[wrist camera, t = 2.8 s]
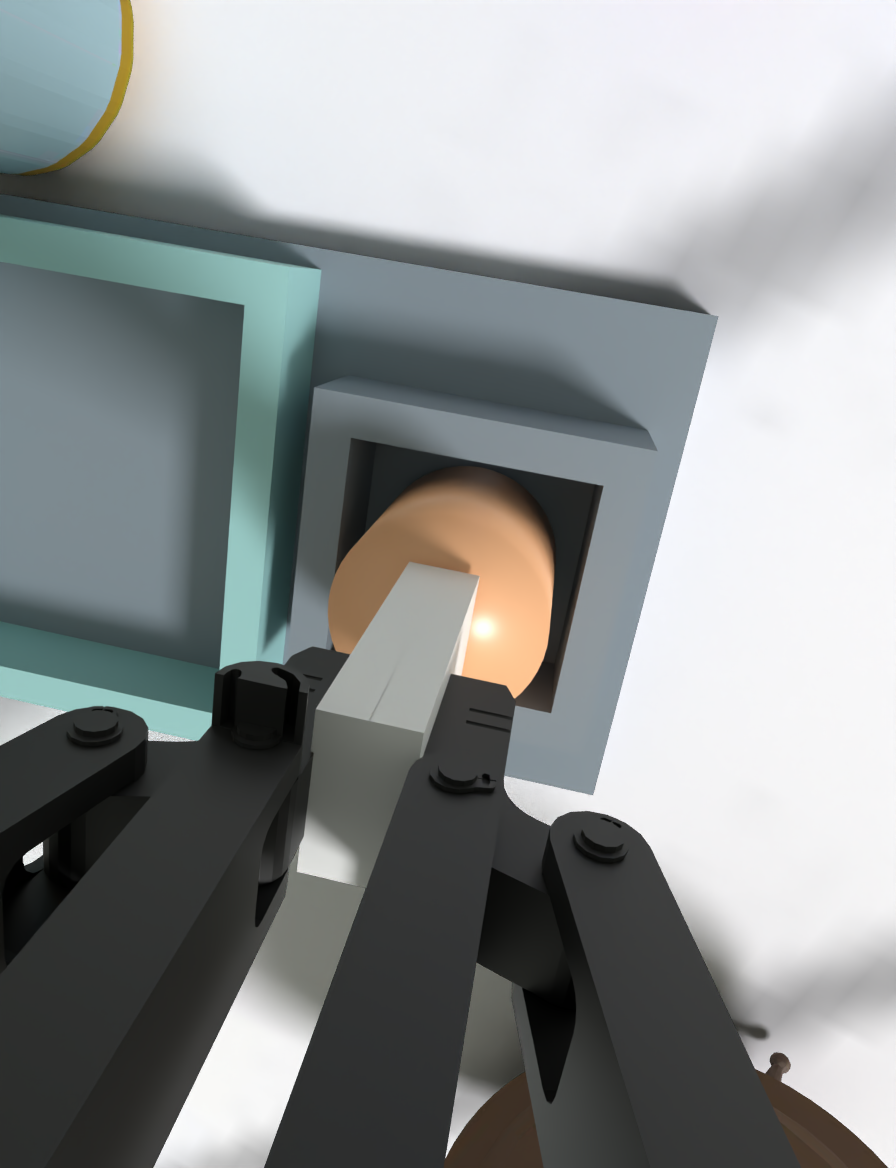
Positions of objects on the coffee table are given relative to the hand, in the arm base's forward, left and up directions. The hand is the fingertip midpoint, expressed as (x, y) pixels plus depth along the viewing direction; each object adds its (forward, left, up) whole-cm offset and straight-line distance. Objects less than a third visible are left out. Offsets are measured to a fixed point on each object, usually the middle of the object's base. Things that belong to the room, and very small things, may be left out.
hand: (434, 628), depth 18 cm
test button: (0, 0, -5) cm, 5 cm away
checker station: (0, -7, -7) cm, 10 cm away
